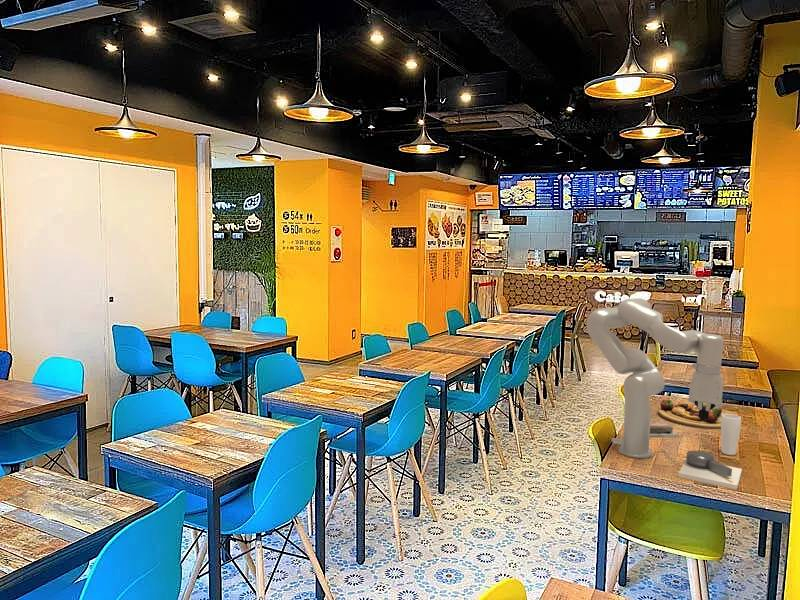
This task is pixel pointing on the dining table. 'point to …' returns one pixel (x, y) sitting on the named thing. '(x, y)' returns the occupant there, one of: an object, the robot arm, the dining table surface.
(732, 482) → the dial base
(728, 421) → the drinking glass
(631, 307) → the robot arm
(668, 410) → the wooden plate with food
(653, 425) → the packaged product
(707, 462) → the dial
